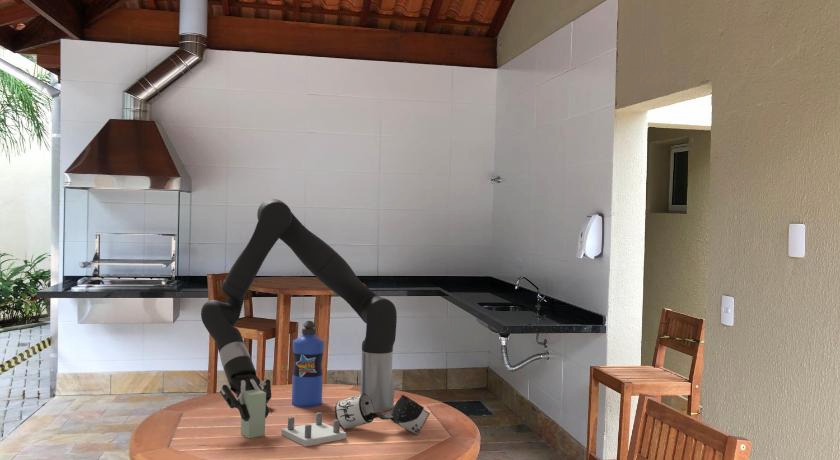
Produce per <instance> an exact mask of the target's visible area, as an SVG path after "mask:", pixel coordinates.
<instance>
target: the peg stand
mask: <svg viewBox="0 0 840 460" xmlns="http://www.w3.org/2000/svg"><path fill="white" fill-rule="evenodd" d="M332 422H333V423H332V424H333V425H329V424H327V423H324V422H323V412H316V413H315V422H313V423H308V424H300V425H295V417H293V416H289V417H288V418H287V427H284V428H281V431H280V432H281V433H280V434H281V436H283V437H285V438H287V439H289V440H291V441H293V442H295V443H297V444H299V445H302V446H304V447H310V446H314V445H319V444H324V443H330V442H336V441H340V440H346V439H347V432H345V431H343V430H340V428H341V427H340V420H337V419H333V421H332Z"/></svg>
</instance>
